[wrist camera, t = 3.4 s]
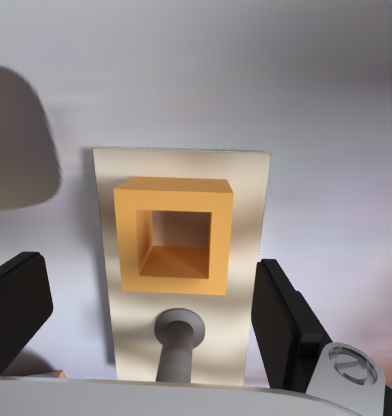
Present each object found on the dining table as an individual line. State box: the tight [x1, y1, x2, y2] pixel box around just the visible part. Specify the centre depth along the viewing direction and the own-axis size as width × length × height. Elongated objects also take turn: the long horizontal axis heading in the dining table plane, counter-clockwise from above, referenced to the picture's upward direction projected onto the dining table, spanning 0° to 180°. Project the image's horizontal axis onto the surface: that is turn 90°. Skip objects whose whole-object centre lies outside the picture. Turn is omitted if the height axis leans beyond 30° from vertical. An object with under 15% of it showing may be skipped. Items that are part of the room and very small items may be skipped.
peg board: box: [93, 147, 271, 386], centre depth 17 cm, size 22×12×8 cm, turn 179°
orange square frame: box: [113, 177, 234, 295], centre depth 15 cm, size 6×6×4 cm
